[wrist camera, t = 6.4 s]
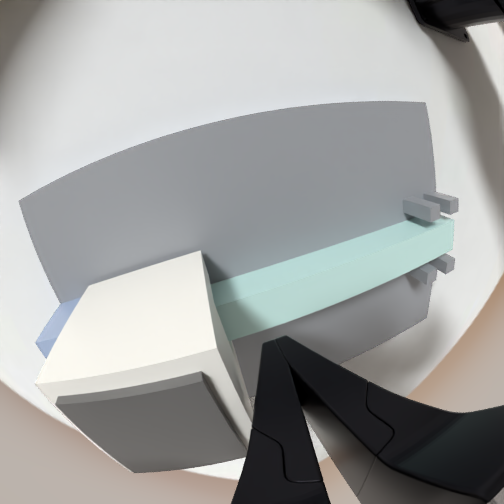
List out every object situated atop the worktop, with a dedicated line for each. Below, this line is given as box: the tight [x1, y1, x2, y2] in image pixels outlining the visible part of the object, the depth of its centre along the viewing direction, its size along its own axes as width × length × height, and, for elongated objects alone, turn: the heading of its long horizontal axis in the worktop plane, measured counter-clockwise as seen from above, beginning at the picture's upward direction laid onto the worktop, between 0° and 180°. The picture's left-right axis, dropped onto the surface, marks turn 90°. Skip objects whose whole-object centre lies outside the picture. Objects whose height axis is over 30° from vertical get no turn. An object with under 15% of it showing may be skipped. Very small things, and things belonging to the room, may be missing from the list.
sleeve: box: [35, 250, 253, 473], centre depth 8 cm, size 5×5×6 cm
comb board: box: [19, 101, 458, 398], centre depth 11 cm, size 20×14×4 cm
